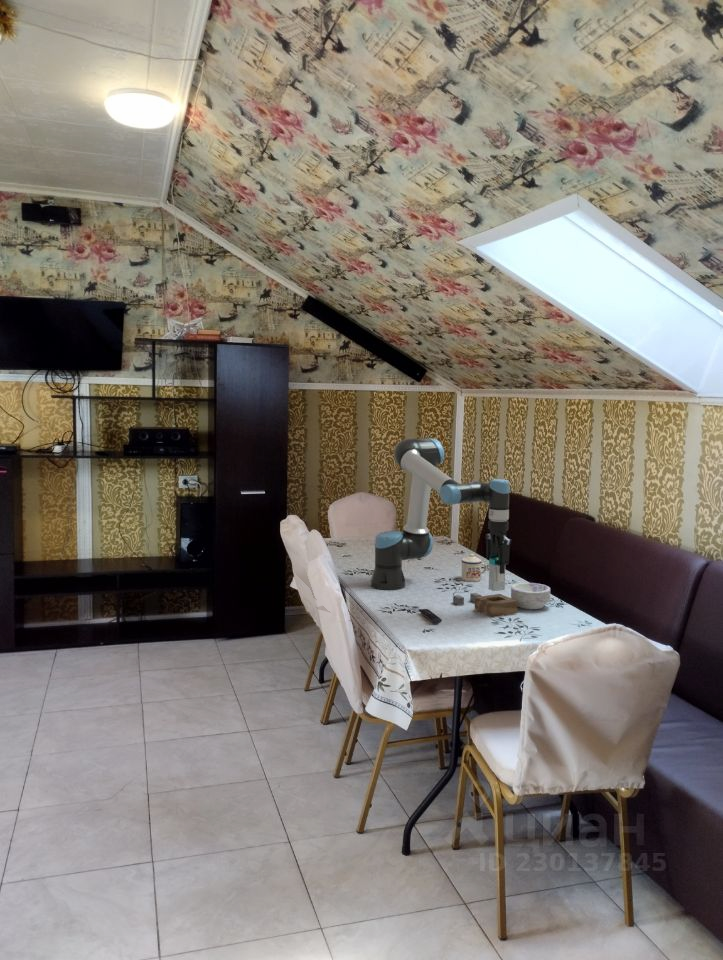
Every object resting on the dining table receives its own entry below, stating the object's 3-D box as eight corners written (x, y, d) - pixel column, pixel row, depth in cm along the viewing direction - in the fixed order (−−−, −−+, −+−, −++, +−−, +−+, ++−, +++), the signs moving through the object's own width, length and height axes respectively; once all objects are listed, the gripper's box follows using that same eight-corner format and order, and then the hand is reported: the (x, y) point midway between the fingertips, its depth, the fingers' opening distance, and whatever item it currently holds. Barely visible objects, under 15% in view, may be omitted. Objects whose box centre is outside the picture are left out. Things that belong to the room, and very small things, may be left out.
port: (474, 609, 294) (474, 597, 293) (499, 606, 299) (500, 593, 298) (491, 617, 284) (491, 604, 283) (517, 613, 289) (517, 600, 288)
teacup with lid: (465, 582, 336) (466, 556, 335) (457, 577, 345) (458, 552, 343) (490, 581, 339) (491, 555, 338) (482, 576, 348) (482, 551, 347)
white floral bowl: (503, 606, 298) (503, 587, 297) (522, 599, 310) (523, 580, 309) (538, 614, 288) (538, 594, 287) (556, 606, 300) (557, 586, 299)
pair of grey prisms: (452, 603, 303) (453, 595, 302) (475, 600, 307) (475, 592, 307) (458, 605, 299) (458, 598, 299) (481, 602, 304) (481, 595, 304)
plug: (488, 589, 291) (489, 558, 289) (499, 587, 293) (500, 557, 292) (494, 591, 287) (494, 560, 286) (504, 589, 290) (505, 559, 288)
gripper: (477, 517, 293) (476, 576, 295) (503, 524, 278) (502, 586, 281) (493, 516, 296) (491, 574, 299) (520, 522, 282) (518, 584, 284)
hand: (496, 580), depth 290 cm, fingers closed on plug, 3 cm apart
